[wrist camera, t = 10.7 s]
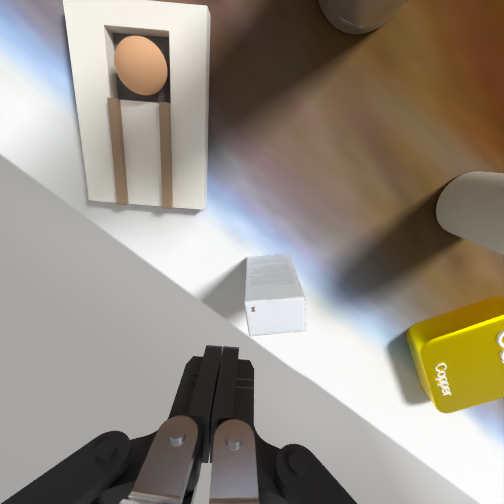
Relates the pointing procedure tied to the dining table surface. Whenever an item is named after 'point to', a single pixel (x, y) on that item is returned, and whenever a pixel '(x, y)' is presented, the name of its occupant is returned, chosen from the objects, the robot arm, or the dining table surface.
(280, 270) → the skincare box
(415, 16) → the dining table surface
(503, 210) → the travel mug
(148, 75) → the ball
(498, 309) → the element tile
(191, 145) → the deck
